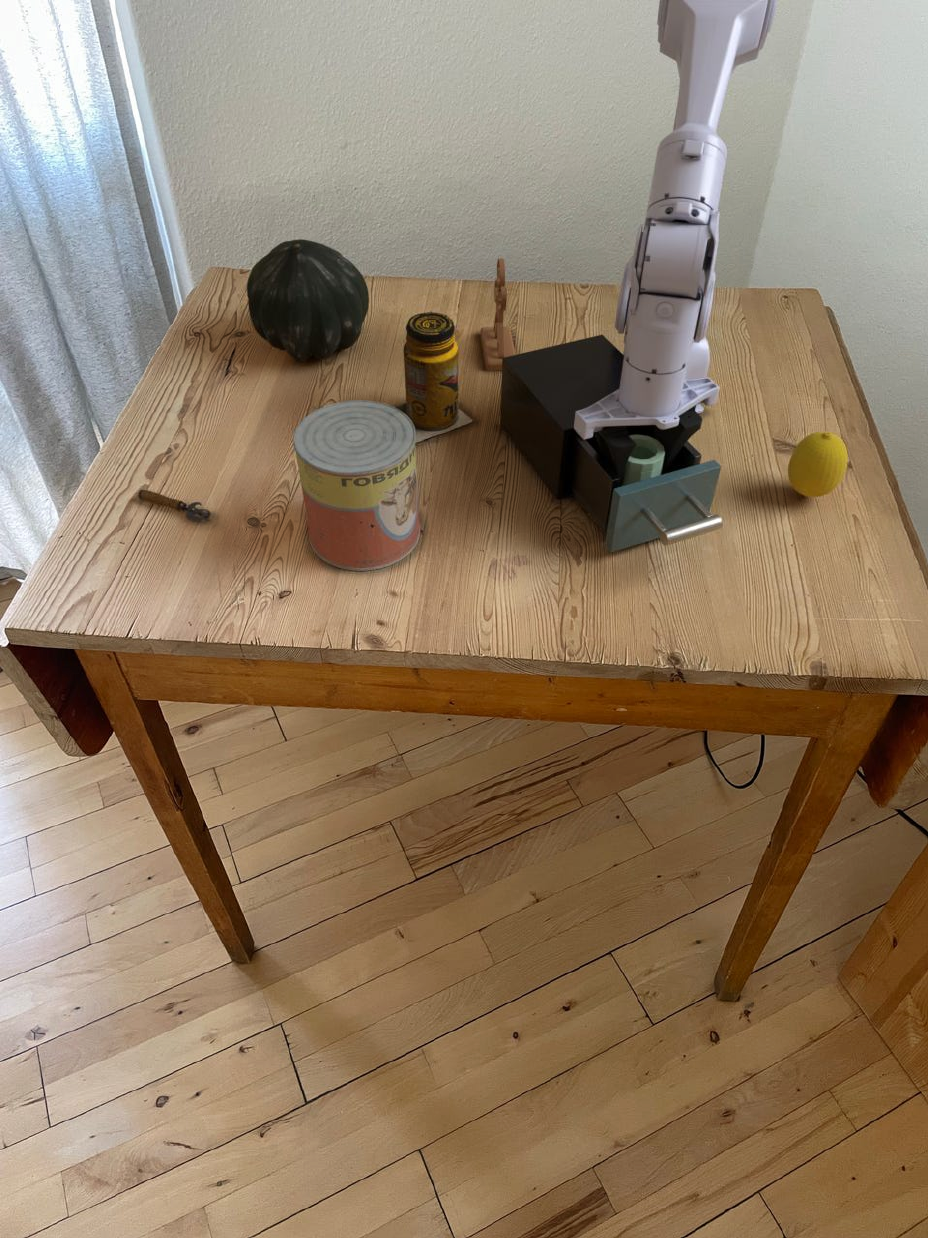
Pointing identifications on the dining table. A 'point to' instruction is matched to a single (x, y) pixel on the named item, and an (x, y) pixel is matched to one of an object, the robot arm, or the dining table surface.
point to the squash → (307, 299)
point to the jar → (644, 460)
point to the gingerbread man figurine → (497, 327)
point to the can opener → (176, 505)
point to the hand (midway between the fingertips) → (635, 476)
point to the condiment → (431, 376)
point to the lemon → (817, 464)
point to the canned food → (359, 483)
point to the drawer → (643, 495)
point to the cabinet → (554, 400)
